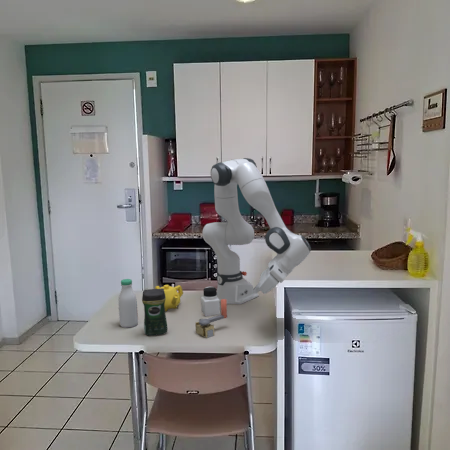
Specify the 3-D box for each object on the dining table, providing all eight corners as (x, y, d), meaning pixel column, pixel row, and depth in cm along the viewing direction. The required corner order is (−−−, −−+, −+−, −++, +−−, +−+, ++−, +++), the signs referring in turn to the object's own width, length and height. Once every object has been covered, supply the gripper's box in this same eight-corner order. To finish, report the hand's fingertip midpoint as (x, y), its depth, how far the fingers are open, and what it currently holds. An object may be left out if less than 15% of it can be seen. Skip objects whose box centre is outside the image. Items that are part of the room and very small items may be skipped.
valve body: (194, 331, 177) (194, 322, 176) (204, 328, 180) (204, 319, 179) (205, 338, 170) (205, 328, 170) (215, 334, 173) (215, 325, 173)
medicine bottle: (220, 314, 195) (219, 289, 193) (205, 316, 193) (204, 291, 191) (216, 309, 202) (215, 284, 200) (201, 311, 200) (200, 286, 198)
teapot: (140, 306, 208) (139, 284, 206) (172, 298, 218) (171, 277, 216) (161, 318, 192) (159, 294, 190) (194, 309, 203) (193, 286, 201)
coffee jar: (167, 327, 182) (165, 285, 178) (167, 335, 174) (165, 291, 171) (144, 329, 180) (141, 287, 177) (143, 337, 173) (141, 293, 169)
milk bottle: (137, 327, 183) (135, 282, 179) (119, 328, 182) (116, 283, 178) (138, 320, 190) (135, 277, 187) (120, 321, 189) (117, 278, 186)
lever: (203, 326, 171) (202, 308, 170) (197, 323, 175) (196, 305, 173) (229, 318, 179) (229, 300, 178) (223, 315, 183) (222, 297, 181)
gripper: (273, 257, 183) (250, 278, 186) (272, 270, 163) (246, 294, 166) (283, 267, 183) (261, 288, 186) (284, 281, 163) (258, 305, 166)
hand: (254, 291), depth 176 cm, fingers closed
